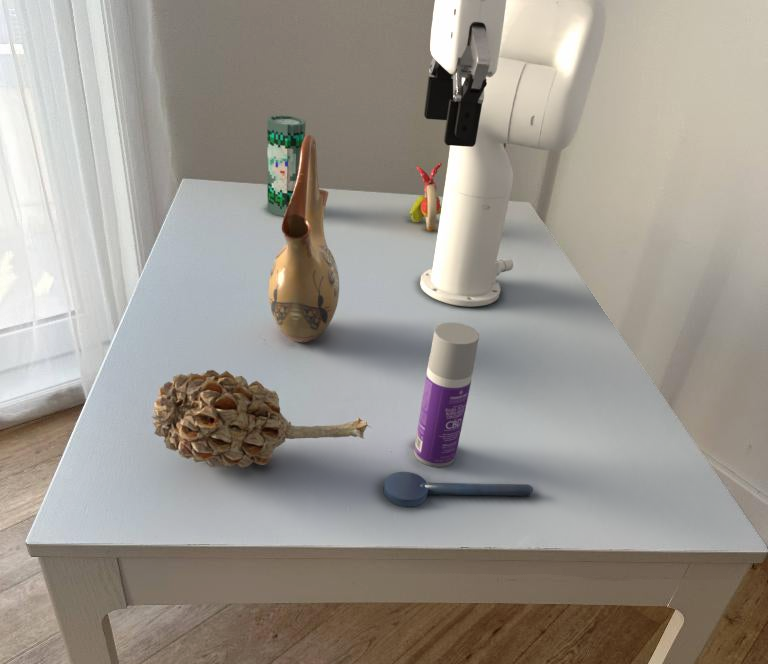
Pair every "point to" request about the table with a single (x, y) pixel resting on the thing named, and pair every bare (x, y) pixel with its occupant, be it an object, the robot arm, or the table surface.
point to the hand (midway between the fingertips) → (448, 131)
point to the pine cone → (229, 420)
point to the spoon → (441, 489)
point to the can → (283, 159)
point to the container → (445, 393)
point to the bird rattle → (427, 201)
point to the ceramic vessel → (304, 259)
